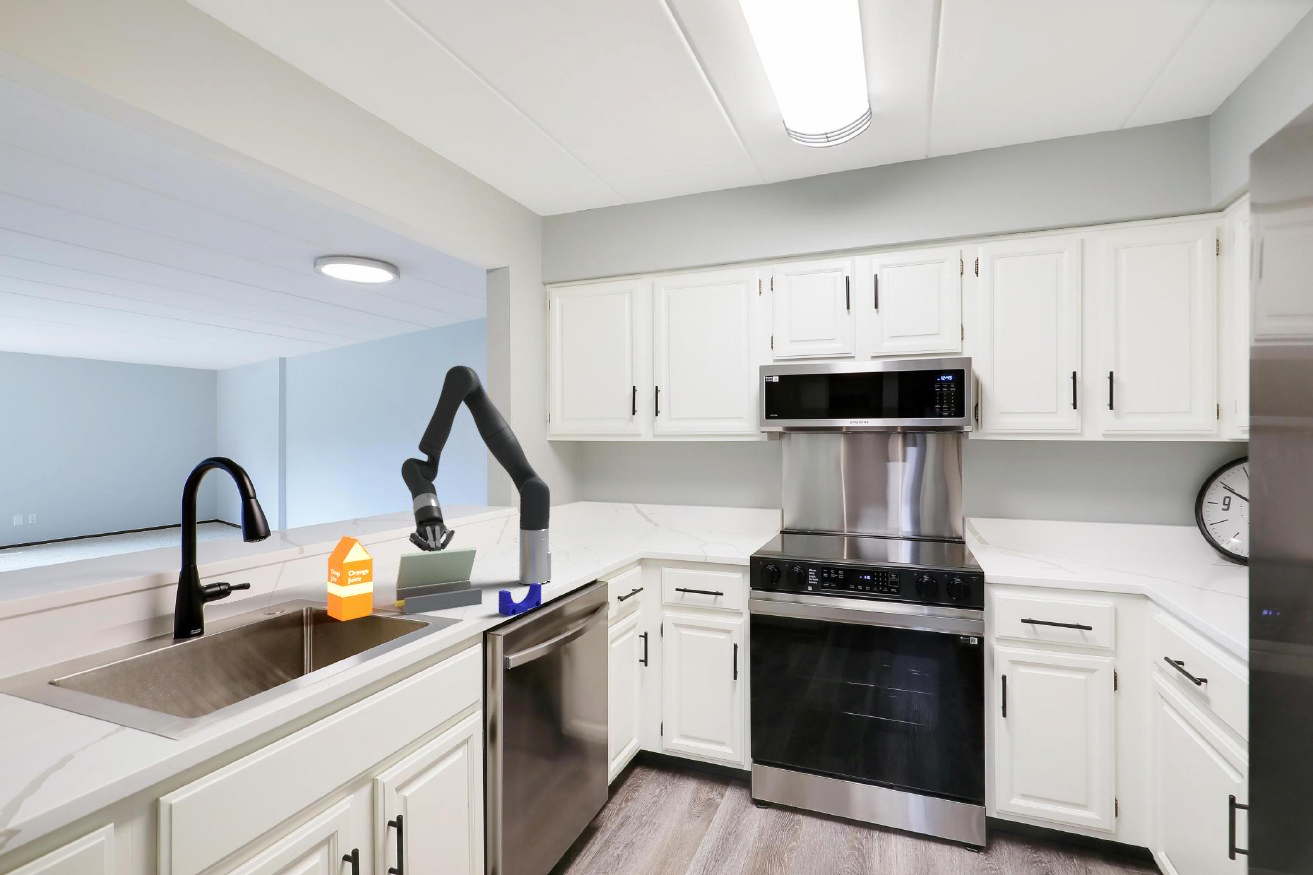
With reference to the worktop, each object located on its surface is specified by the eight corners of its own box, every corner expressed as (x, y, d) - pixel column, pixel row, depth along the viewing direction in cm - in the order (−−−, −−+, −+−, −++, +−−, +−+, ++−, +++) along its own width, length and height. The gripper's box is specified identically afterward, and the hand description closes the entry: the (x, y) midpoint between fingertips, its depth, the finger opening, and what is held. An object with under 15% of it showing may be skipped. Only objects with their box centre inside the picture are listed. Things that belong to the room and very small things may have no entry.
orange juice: (357, 608, 161) (358, 534, 161) (372, 614, 156) (373, 537, 156) (326, 614, 155) (327, 537, 155) (341, 621, 150) (342, 541, 150)
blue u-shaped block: (509, 617, 154) (509, 593, 154) (498, 614, 157) (498, 591, 157) (544, 607, 164) (544, 585, 164) (533, 604, 167) (533, 582, 167)
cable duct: (472, 593, 177) (472, 580, 177) (485, 602, 167) (485, 588, 167) (389, 605, 164) (389, 590, 164) (397, 615, 154) (398, 600, 154)
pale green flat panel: (469, 580, 176) (468, 577, 177) (476, 549, 171) (475, 547, 172) (396, 589, 165) (396, 586, 166) (401, 556, 160) (401, 554, 161)
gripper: (406, 505, 172) (414, 555, 162) (452, 503, 180) (464, 550, 169) (402, 521, 177) (410, 571, 166) (448, 518, 184) (458, 566, 174)
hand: (437, 560), depth 168 cm, fingers closed
